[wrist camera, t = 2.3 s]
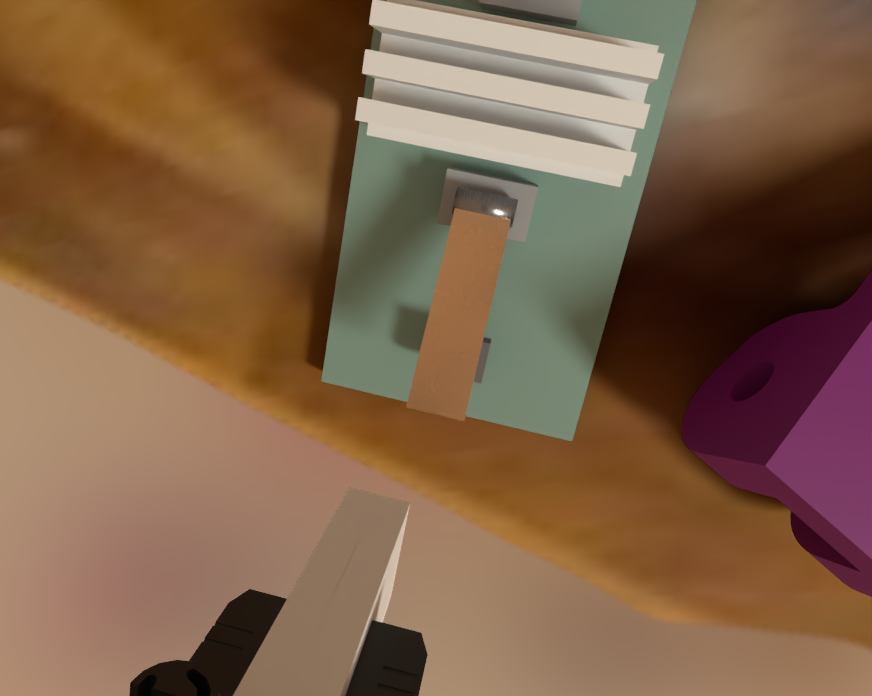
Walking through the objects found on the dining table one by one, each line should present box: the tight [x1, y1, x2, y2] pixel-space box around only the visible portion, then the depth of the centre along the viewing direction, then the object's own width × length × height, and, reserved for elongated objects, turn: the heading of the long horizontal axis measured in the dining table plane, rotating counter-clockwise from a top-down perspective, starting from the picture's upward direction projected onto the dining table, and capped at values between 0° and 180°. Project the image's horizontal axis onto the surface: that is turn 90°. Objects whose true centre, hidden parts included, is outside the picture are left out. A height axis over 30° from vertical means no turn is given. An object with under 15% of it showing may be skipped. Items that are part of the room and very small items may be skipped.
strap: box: [406, 187, 518, 421], centre depth 28 cm, size 10×3×1 cm, turn 168°
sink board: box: [321, 0, 697, 441], centre depth 27 cm, size 30×13×8 cm, turn 169°
